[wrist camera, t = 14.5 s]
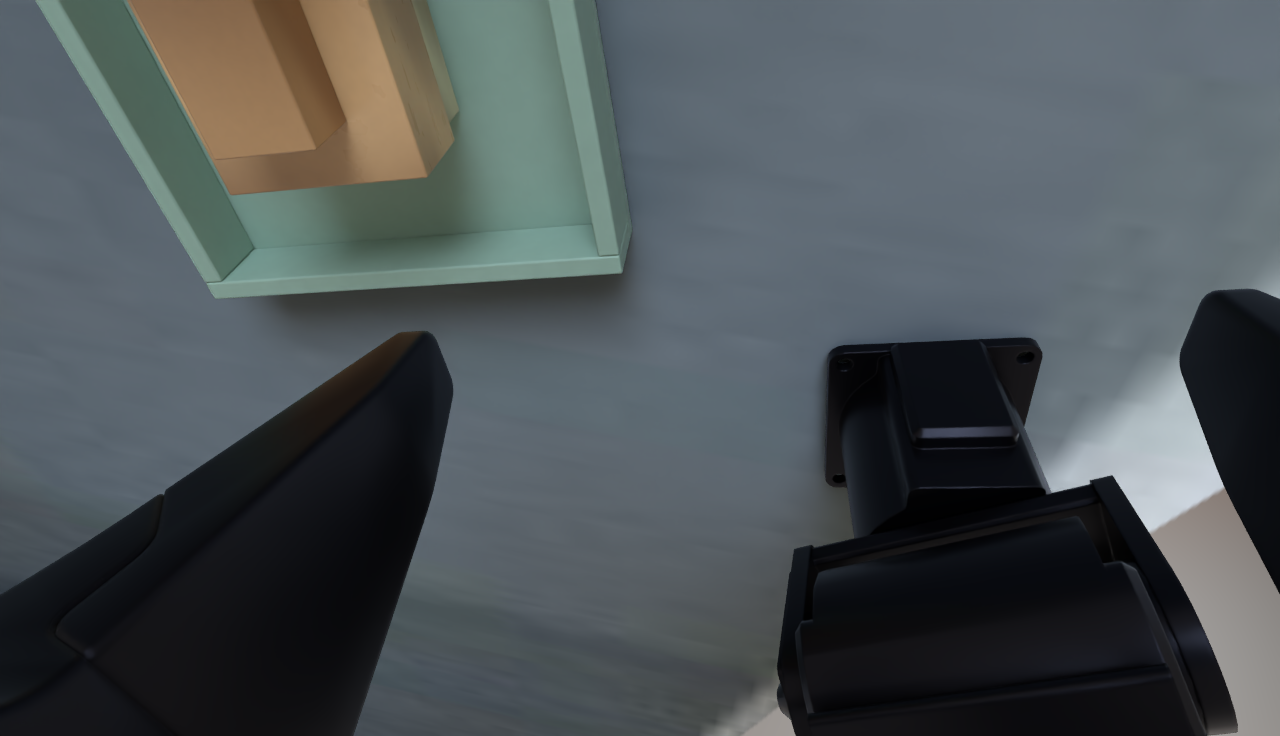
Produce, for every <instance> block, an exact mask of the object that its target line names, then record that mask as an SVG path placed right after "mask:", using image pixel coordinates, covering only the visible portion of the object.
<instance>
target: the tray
mask: <svg viewBox="0 0 1280 736" xmlns="http://www.w3.org/2000/svg"><path fill="white" fill-rule="evenodd" d="M35 1H36V2H37V4H38V6H39V7H40V9H41V11H42V12H43V14H44V16H45V17H46V19H47V21H48V22H49V24H50V26H51V27H52V29H53V31H54V32H55V34H56V36H57V37H58V39H59V41H60V42H61V44H62V46H63V47H64V49H65V51H66V52H67V54H68V56H69V57H70V59H71V61H72V62H73V64H74V65H75V67H76V69H77V70H78V72H79V74H80V75H81V77H82V79H83V80H84V82H85V84H86V85H87V87H88V89H89V90H90V92H91V94H92V95H93V97H94V99H95V100H96V102H97V104H98V105H99V107H100V109H101V110H102V112H103V114H104V115H105V117H106V119H107V120H108V122H109V124H110V125H111V127H112V129H113V130H114V132H115V134H116V135H117V137H118V139H119V140H120V142H121V144H122V145H123V147H124V149H125V150H126V152H127V153H128V155H129V157H130V158H131V160H132V162H133V163H134V165H135V167H136V168H137V170H138V172H139V173H140V175H141V177H142V178H143V180H144V182H145V183H146V185H147V187H148V188H149V190H150V192H151V193H152V195H153V197H154V198H155V200H156V202H157V203H158V205H159V207H160V208H161V210H162V212H163V213H164V215H165V217H166V218H167V220H168V222H169V223H170V225H171V227H172V228H173V230H174V232H175V233H176V235H177V236H178V238H179V240H180V241H181V243H182V245H183V246H184V248H185V250H186V251H187V253H188V255H189V256H190V258H191V260H192V261H193V263H194V265H195V266H196V268H197V270H198V271H199V273H200V275H201V276H202V278H203V280H204V281H205V282H207V286H208V288H209V290H210V291H211V293H212V295H213V296H214V298H215V299H223V298H239V297H255V296H271V295H287V294H303V293H319V292H335V291H351V290H367V289H383V288H399V287H415V286H431V285H447V284H463V283H479V282H495V281H511V280H527V279H543V278H559V277H575V276H591V275H607V274H621V273H622V272H623V268H624V263H625V259H626V255H627V250H628V246H629V241H630V237H631V233H632V224H631V218H630V211H629V205H628V199H627V193H626V187H625V181H624V175H623V168H622V162H621V156H620V150H619V144H618V138H617V132H616V125H615V119H614V113H613V107H612V101H611V95H610V89H609V82H608V76H607V70H606V64H605V58H604V52H603V46H602V39H601V33H600V27H599V21H598V15H597V9H596V3H595V0H427V3H428V7H429V10H430V13H431V17H432V20H433V24H434V27H435V30H436V34H437V37H438V40H439V44H440V47H441V51H442V54H443V57H444V61H445V64H446V67H447V71H448V74H449V77H450V81H451V84H452V88H453V91H454V94H455V98H456V101H457V104H458V108H459V112H458V113H457V114H456V115H455V117H454V118H453V119H452V121H451V122H450V126H451V130H452V133H453V136H454V142H453V144H452V145H451V146H450V148H449V149H448V150H447V152H446V153H445V154H444V156H443V157H442V158H441V160H440V161H439V163H438V164H437V165H436V167H435V168H434V169H433V171H432V172H431V173H430V175H429V176H428V177H427V178H418V179H407V180H396V181H385V182H374V183H363V184H352V185H341V186H330V187H319V188H308V189H297V190H286V191H275V192H264V193H253V194H242V195H230V194H229V192H228V190H227V188H226V186H225V184H224V182H223V180H222V179H221V177H220V175H219V173H218V171H217V169H216V167H215V165H214V163H213V162H212V160H211V158H210V156H209V154H208V152H207V150H206V148H205V147H204V145H203V143H202V141H201V139H200V137H199V135H198V133H197V132H196V130H195V128H194V126H193V124H192V122H191V120H190V118H189V117H188V115H187V113H186V111H185V109H184V107H183V105H182V103H181V101H180V100H179V98H178V96H177V94H176V92H175V90H174V88H173V86H172V85H171V83H170V81H169V79H168V77H167V75H166V73H165V71H164V70H163V68H162V66H161V64H160V62H159V60H158V58H157V56H156V54H155V53H154V51H153V49H152V47H151V45H150V43H149V41H148V39H147V38H146V36H145V34H144V32H143V30H142V28H141V26H140V24H139V23H138V21H137V19H136V17H135V15H134V13H133V11H132V9H131V8H130V6H129V4H128V2H127V0H35Z"/></svg>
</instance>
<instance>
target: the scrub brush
mask: <svg viewBox="0 0 1280 736" xmlns="http://www.w3.org/2000/svg"><path fill="white" fill-rule="evenodd" d="M127 2H128V4H129V6H130V8H131V9H132V11H133V13H134V15H135V17H136V19H137V21H138V23H139V24H140V26H141V28H142V30H143V32H144V34H145V36H146V38H147V39H148V41H149V43H150V45H151V47H152V49H153V51H154V53H155V54H156V56H157V58H158V60H159V62H160V64H161V66H162V68H163V70H164V71H165V73H166V75H167V77H168V79H169V81H170V83H171V85H172V86H173V88H174V90H175V92H176V94H177V96H178V98H179V100H180V101H181V103H182V105H183V107H184V109H185V111H186V113H187V115H188V117H189V118H190V120H191V122H192V124H193V126H194V128H195V130H196V132H197V133H198V135H199V137H200V139H201V141H202V143H203V145H204V147H205V148H206V150H207V152H208V154H209V156H210V158H211V160H212V162H213V163H214V165H215V167H216V169H217V171H218V173H219V175H220V177H221V179H222V180H223V182H224V184H225V186H226V188H227V190H228V192H229V194H230V195H242V194H253V193H264V192H275V191H286V190H297V189H308V188H319V187H330V186H341V185H352V184H363V183H374V182H385V181H396V180H407V179H418V178H427V177H428V176H429V175H430V173H431V172H432V171H433V169H434V168H435V167H436V165H437V164H438V163H439V161H440V160H441V158H442V157H443V156H444V154H445V153H446V152H447V150H448V149H449V148H450V146H451V145H452V144H453V142H454V136H453V133H452V130H451V126H450V122H451V121H452V119H453V118H454V117H455V115H456V114H457V113H458V112H459V108H458V104H457V101H456V98H455V94H454V91H453V88H452V84H451V81H450V77H449V74H448V71H447V67H446V64H445V61H444V57H443V54H442V51H441V47H440V44H439V40H438V37H437V34H436V30H435V27H434V24H433V20H432V17H431V13H430V10H429V7H428V3H427V0H127Z"/></svg>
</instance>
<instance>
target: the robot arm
mask: <svg viewBox="0 0 1280 736" xmlns="http://www.w3.org/2000/svg"><path fill="white" fill-rule="evenodd" d="M1026 351H1027V352H1028V353H1027V354H1026V355H1024V356H1018V355H1019V354H1020V353H1022V352H1026ZM842 359H849V360H850V361H848V362H847V363H839V362H838V361H840V360H842ZM1041 360H1042V351H1041V349H1040V347H1039V345H1038V343H1037V342H1036V341H1035V340H1033V339H1031V338H1002V339H979V340H956V341H933V342H910V343H887V344H864V345H843V346H838V347H836V348H834V349H832V351H831V352H830V353H829V355H828V367H827V403H826V439H825V478H826V482H827V483H828V484H829V485H831V486H833V487H847V490H848V497H849V504H850V511H851V518H852V525H853V532H854V539H849V540H845V541H841V542H836V543H832V544H828V545H823V546H819V547H815V548H814V547H813V546H812V545H809V546H805V547H800V548H796V549H794V554H793V561H792V569H791V572H790V574H789V580H788V588H787V595H786V603H785V610H784V618H783V626H782V633H781V641H780V648H779V656H778V663H777V670H778V676H779V680H780V684H779V687H778V689H777V700H778V704H779V707H780V710H781V711H782V713H783V714H785V715H786V716H787V717H788V718H789V719H790V720H791V722H792V725H793V729H794V732H795V734H796V736H1209V735H1219V734H1228V733H1236V732H1238V724H1237V719H1236V715H1235V710H1234V707H1233V704H1232V701H1231V697H1230V694H1229V691H1228V688H1227V686H1226V683H1225V680H1224V677H1223V675H1222V672H1221V670H1220V667H1219V665H1218V662H1217V660H1216V658H1215V655H1214V652H1213V650H1212V647H1211V645H1210V643H1209V640H1208V638H1207V636H1206V634H1205V631H1204V629H1203V627H1202V625H1201V623H1200V621H1199V618H1198V616H1197V614H1196V612H1195V610H1194V608H1193V606H1192V604H1191V602H1190V600H1189V598H1188V596H1187V594H1186V592H1185V591H1184V589H1183V587H1182V585H1181V583H1180V581H1179V580H1178V578H1177V576H1176V575H1175V573H1174V571H1173V569H1172V568H1171V566H1170V565H1169V563H1168V562H1167V560H1166V558H1165V557H1164V556H1163V554H1162V552H1161V551H1160V549H1159V548H1158V546H1157V544H1156V543H1155V541H1154V540H1153V538H1152V537H1151V535H1150V533H1149V532H1148V530H1147V529H1146V527H1145V526H1144V524H1143V522H1142V521H1141V519H1140V518H1139V516H1138V515H1137V513H1136V511H1135V510H1134V508H1133V507H1132V505H1131V504H1130V502H1129V500H1128V499H1127V497H1126V496H1125V494H1124V493H1123V491H1122V490H1121V488H1120V486H1119V485H1118V483H1117V482H1116V480H1115V479H1114V477H1113V476H1107V477H1103V478H1099V479H1094V480H1090V484H1089V485H1085V486H1080V487H1076V488H1072V489H1067V490H1063V491H1059V492H1054V493H1052V492H1051V490H1050V488H1049V485H1048V483H1047V481H1046V478H1045V476H1044V473H1043V471H1042V469H1041V466H1040V464H1039V461H1038V459H1037V457H1036V454H1035V452H1034V450H1033V447H1032V445H1031V442H1030V440H1029V438H1028V435H1027V433H1026V430H1025V428H1024V425H1025V421H1026V418H1027V414H1028V410H1029V406H1030V402H1031V398H1032V395H1033V391H1034V387H1035V383H1036V379H1037V375H1038V372H1039V368H1040V364H1041ZM1180 369H1181V373H1182V376H1183V379H1184V381H1185V384H1186V387H1187V389H1188V392H1189V395H1190V398H1191V400H1192V403H1193V406H1194V408H1195V411H1196V414H1197V417H1198V419H1199V422H1200V425H1201V427H1202V430H1203V433H1204V435H1205V438H1206V441H1207V444H1208V446H1209V449H1210V452H1211V454H1212V457H1213V460H1214V463H1215V465H1216V468H1217V470H1218V473H1219V475H1220V478H1221V480H1222V482H1223V485H1224V487H1225V489H1226V491H1227V493H1228V495H1229V497H1230V499H1231V501H1232V503H1233V505H1234V507H1235V509H1236V511H1237V513H1238V515H1239V517H1240V519H1241V520H1242V522H1243V525H1244V526H1245V528H1246V530H1247V532H1248V534H1249V536H1250V538H1251V540H1252V542H1253V544H1254V546H1255V547H1256V549H1257V551H1258V553H1259V555H1260V557H1261V559H1262V561H1263V563H1264V565H1265V567H1266V568H1267V570H1268V572H1269V574H1270V576H1271V578H1272V580H1273V582H1274V584H1275V586H1276V588H1277V590H1278V592H1279V594H1280V299H1278V298H1276V297H1274V296H1271V295H1269V294H1266V293H1264V292H1261V291H1259V290H1255V289H1234V290H1216V291H1213V292H1210V293H1208V294H1207V295H1206V296H1205V297H1204V298H1203V299H1202V301H1201V303H1200V304H1199V307H1198V309H1197V312H1196V314H1195V317H1194V319H1193V321H1192V324H1191V326H1190V329H1189V331H1188V334H1187V336H1186V338H1185V341H1184V343H1183V346H1182V348H1181V352H1180ZM452 398H453V383H452V379H451V376H450V373H449V371H448V368H447V366H446V363H445V361H444V358H443V355H442V353H441V350H440V348H439V345H438V343H437V340H436V339H435V337H434V336H433V334H431V333H430V332H428V331H414V332H401V333H398V334H396V335H395V336H393V337H392V338H390V339H389V340H387V341H386V342H384V343H383V344H381V345H380V346H378V347H377V348H375V349H374V350H372V351H371V352H369V353H368V354H366V355H365V356H363V357H362V358H361V359H359V360H358V361H356V362H355V363H353V364H352V365H350V366H349V367H347V368H346V369H344V370H343V371H341V372H340V373H338V374H337V375H335V376H334V377H332V378H331V379H329V380H328V381H326V382H325V383H323V384H322V385H320V386H319V387H318V388H316V389H315V390H313V391H312V392H310V393H309V394H307V395H306V396H304V397H303V398H301V399H300V400H298V401H297V402H295V403H294V404H292V405H291V406H289V407H288V408H286V409H285V410H283V411H282V412H280V413H279V414H277V415H276V416H275V417H273V418H272V419H270V420H269V421H267V422H266V423H264V424H263V425H261V426H260V427H258V428H257V429H255V430H254V431H252V432H251V433H249V434H248V435H246V436H245V437H243V438H242V439H240V440H239V441H237V442H236V443H235V444H233V445H232V446H230V447H229V448H227V449H226V450H224V451H223V452H221V453H220V454H218V455H217V456H215V457H214V458H212V459H211V460H209V461H208V462H206V463H205V464H203V465H202V466H200V467H199V468H197V469H196V470H194V471H193V472H192V473H190V474H189V475H187V476H186V477H184V478H183V479H181V480H180V481H178V482H177V483H175V484H174V485H172V486H171V487H169V488H168V489H166V491H165V494H164V495H163V494H159V495H157V496H156V497H154V498H153V499H151V500H150V501H148V502H147V503H145V504H144V505H142V506H141V507H139V508H138V509H136V510H135V511H134V512H132V513H131V514H129V515H127V516H126V517H124V518H123V519H121V520H120V521H118V522H117V523H115V524H114V525H112V526H111V527H109V528H108V529H106V530H105V531H103V532H101V533H100V534H98V535H97V536H95V537H94V538H92V539H91V540H89V541H88V542H86V543H85V544H83V545H81V546H80V547H78V548H77V549H75V550H73V551H72V552H70V553H68V554H67V555H65V556H64V557H62V558H60V559H59V560H57V561H55V562H54V563H52V564H51V565H49V566H47V567H46V568H44V569H42V570H41V571H39V572H38V573H36V574H34V575H33V576H31V577H29V578H28V579H26V580H24V581H23V582H21V583H19V584H18V585H16V586H14V587H13V588H11V589H9V590H8V591H6V592H4V593H3V594H1V595H0V736H353V735H354V732H355V729H356V726H357V723H358V720H359V717H360V714H361V711H362V708H363V705H364V702H365V699H366V696H367V693H368V689H369V686H370V683H371V680H372V677H373V674H374V671H375V668H376V665H377V662H378V659H379V656H380V653H381V650H382V647H383V644H384V641H385V638H386V635H387V632H388V629H389V626H390V623H391V620H392V617H393V614H394V611H395V608H396V605H397V602H398V599H399V596H400V593H401V590H402V587H403V583H404V580H405V577H406V574H407V571H408V568H409V565H410V562H411V559H412V556H413V553H414V550H415V547H416V544H417V541H418V538H419V535H420V532H421V529H422V526H423V523H424V520H425V517H426V514H427V511H428V507H429V504H430V501H431V497H432V494H433V490H434V486H435V481H436V477H437V472H438V467H439V462H440V457H441V452H442V448H443V443H444V438H445V433H446V428H447V423H448V418H449V413H450V408H451V403H452ZM836 474H842V475H836Z"/></svg>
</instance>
